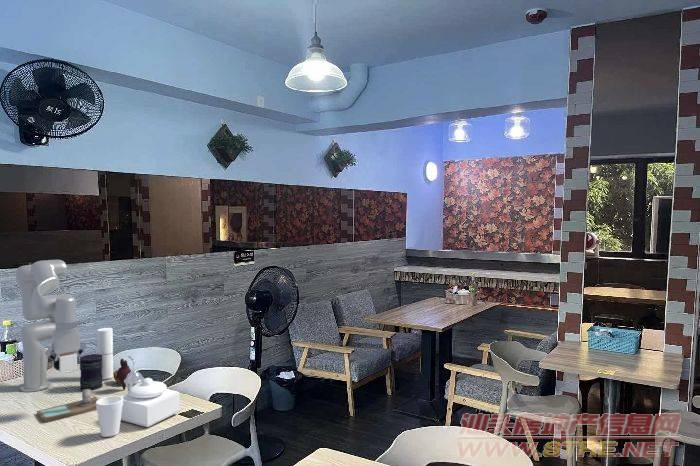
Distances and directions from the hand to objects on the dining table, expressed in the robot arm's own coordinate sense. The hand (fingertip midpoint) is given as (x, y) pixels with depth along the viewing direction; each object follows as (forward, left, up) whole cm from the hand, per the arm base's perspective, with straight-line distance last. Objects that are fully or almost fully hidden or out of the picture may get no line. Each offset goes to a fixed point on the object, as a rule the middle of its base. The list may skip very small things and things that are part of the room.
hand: (66, 367), depth 207 cm
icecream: (-10, +27, -20) cm, 35 cm away
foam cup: (+33, +6, -20) cm, 39 cm away
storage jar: (-25, +17, -20) cm, 36 cm away
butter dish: (+27, +24, -20) cm, 41 cm away
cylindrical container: (-36, +27, -20) cm, 49 cm away
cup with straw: (+8, +25, -20) cm, 33 cm away
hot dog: (-22, +30, -20) cm, 42 cm away
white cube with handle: (0, 0, -1) cm, 1 cm away
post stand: (0, +2, -20) cm, 20 cm away
